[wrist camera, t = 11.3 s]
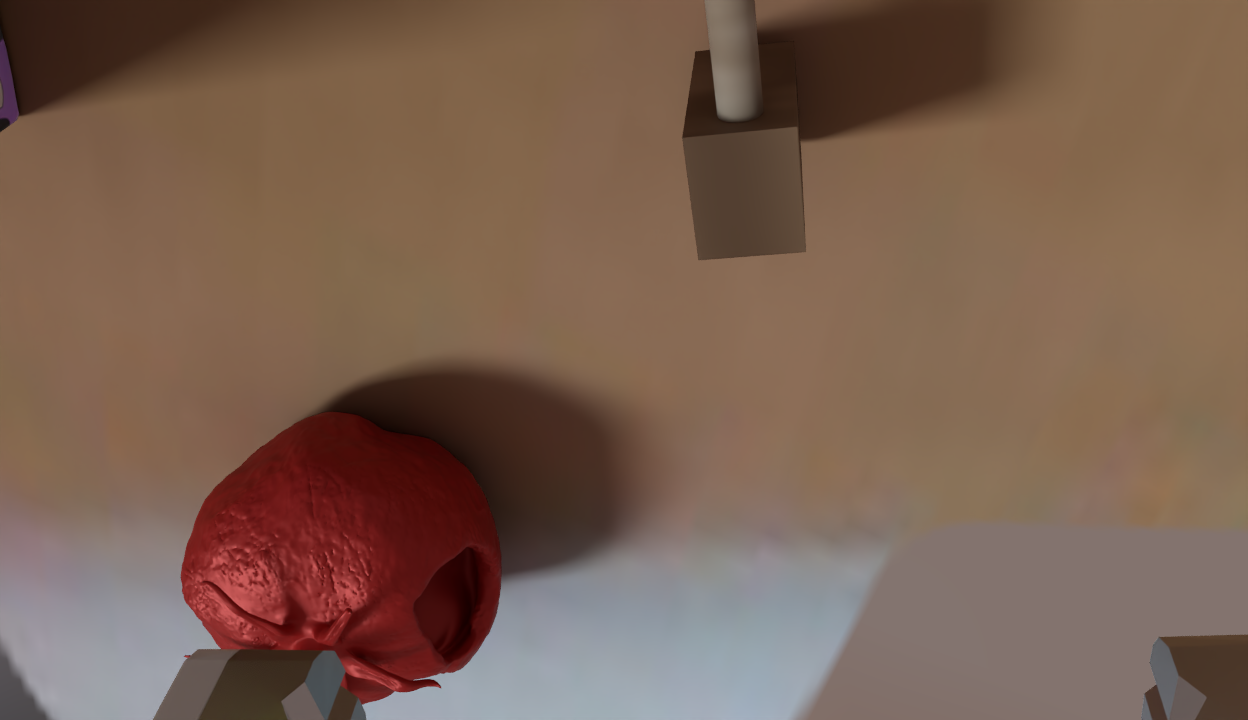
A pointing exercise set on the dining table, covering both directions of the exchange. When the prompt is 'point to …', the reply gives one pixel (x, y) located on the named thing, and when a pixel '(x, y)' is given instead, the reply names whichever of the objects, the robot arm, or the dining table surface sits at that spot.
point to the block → (743, 140)
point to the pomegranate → (349, 554)
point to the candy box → (6, 90)
